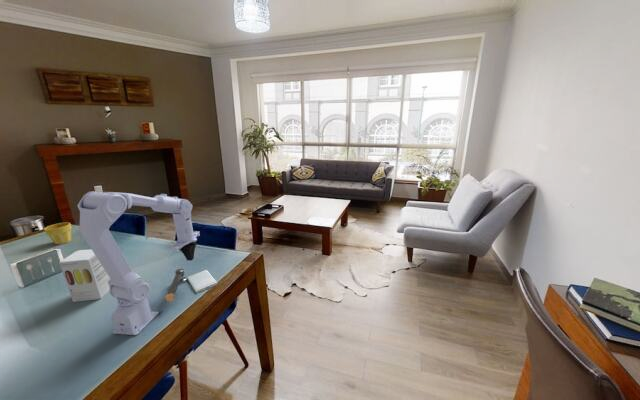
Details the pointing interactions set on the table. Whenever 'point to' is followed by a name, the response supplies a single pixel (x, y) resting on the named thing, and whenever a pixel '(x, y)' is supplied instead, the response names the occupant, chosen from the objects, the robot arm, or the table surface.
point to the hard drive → (201, 281)
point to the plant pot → (59, 232)
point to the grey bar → (174, 285)
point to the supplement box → (85, 276)
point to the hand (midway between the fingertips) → (190, 259)
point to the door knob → (183, 280)
